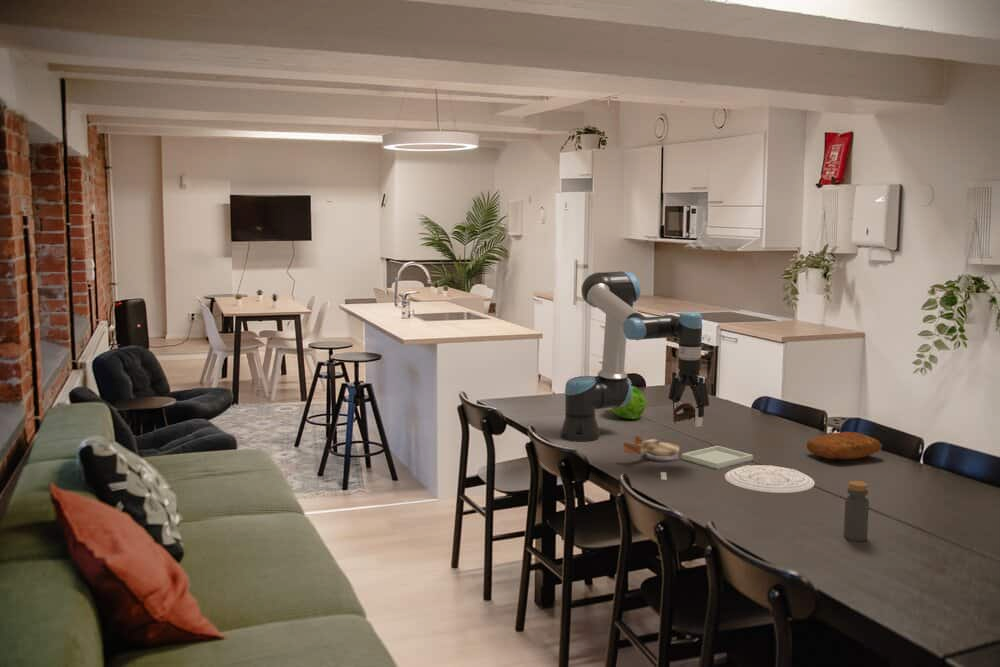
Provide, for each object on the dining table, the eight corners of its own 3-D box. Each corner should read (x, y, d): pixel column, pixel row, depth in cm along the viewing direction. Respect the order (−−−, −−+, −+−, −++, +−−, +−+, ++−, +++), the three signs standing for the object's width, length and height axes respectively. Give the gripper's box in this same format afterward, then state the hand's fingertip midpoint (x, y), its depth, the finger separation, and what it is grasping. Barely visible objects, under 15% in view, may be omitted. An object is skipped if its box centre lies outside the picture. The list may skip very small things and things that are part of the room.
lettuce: (596, 418, 390) (627, 420, 395) (619, 417, 369) (651, 420, 374) (597, 385, 392) (628, 387, 397) (620, 382, 371) (653, 385, 375)
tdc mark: (660, 472, 299) (660, 472, 299) (666, 473, 299) (666, 472, 299) (661, 479, 291) (661, 479, 291) (666, 480, 291) (666, 479, 291)
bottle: (839, 534, 241) (842, 480, 239) (860, 533, 242) (863, 479, 240) (849, 541, 235) (852, 486, 233) (871, 541, 236) (874, 486, 234)
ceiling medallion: (814, 473, 299) (814, 464, 299) (814, 498, 273) (815, 488, 273) (728, 466, 309) (728, 457, 308) (721, 489, 282) (721, 479, 282)
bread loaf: (852, 449, 328) (853, 428, 327) (885, 461, 312) (887, 439, 311) (801, 454, 322) (802, 433, 320) (832, 467, 305) (834, 444, 304)
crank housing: (640, 456, 320) (640, 450, 319) (661, 451, 326) (661, 445, 326) (662, 463, 311) (662, 456, 310) (684, 458, 317) (684, 451, 317)
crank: (661, 444, 326) (662, 425, 325) (686, 451, 317) (687, 432, 316) (618, 453, 314) (618, 434, 313) (642, 461, 304) (643, 441, 303)
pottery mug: (706, 429, 299) (696, 409, 296) (680, 439, 301) (670, 420, 299) (703, 412, 310) (693, 393, 307) (678, 422, 312) (668, 403, 310)
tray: (681, 459, 316) (681, 453, 315) (717, 451, 327) (717, 445, 326) (716, 469, 303) (717, 463, 302) (752, 460, 314) (752, 455, 313)
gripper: (658, 355, 307) (657, 418, 310) (706, 363, 290) (704, 431, 293) (674, 353, 312) (672, 416, 315) (722, 361, 294) (719, 428, 297)
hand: (687, 423), depth 304 cm, fingers closed on pottery mug, 9 cm apart
